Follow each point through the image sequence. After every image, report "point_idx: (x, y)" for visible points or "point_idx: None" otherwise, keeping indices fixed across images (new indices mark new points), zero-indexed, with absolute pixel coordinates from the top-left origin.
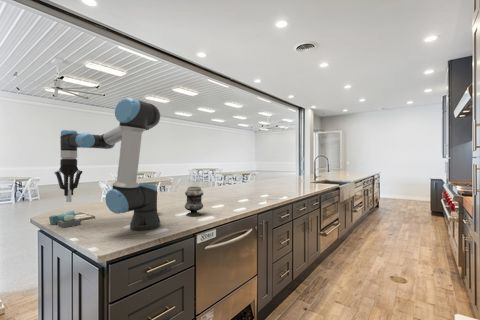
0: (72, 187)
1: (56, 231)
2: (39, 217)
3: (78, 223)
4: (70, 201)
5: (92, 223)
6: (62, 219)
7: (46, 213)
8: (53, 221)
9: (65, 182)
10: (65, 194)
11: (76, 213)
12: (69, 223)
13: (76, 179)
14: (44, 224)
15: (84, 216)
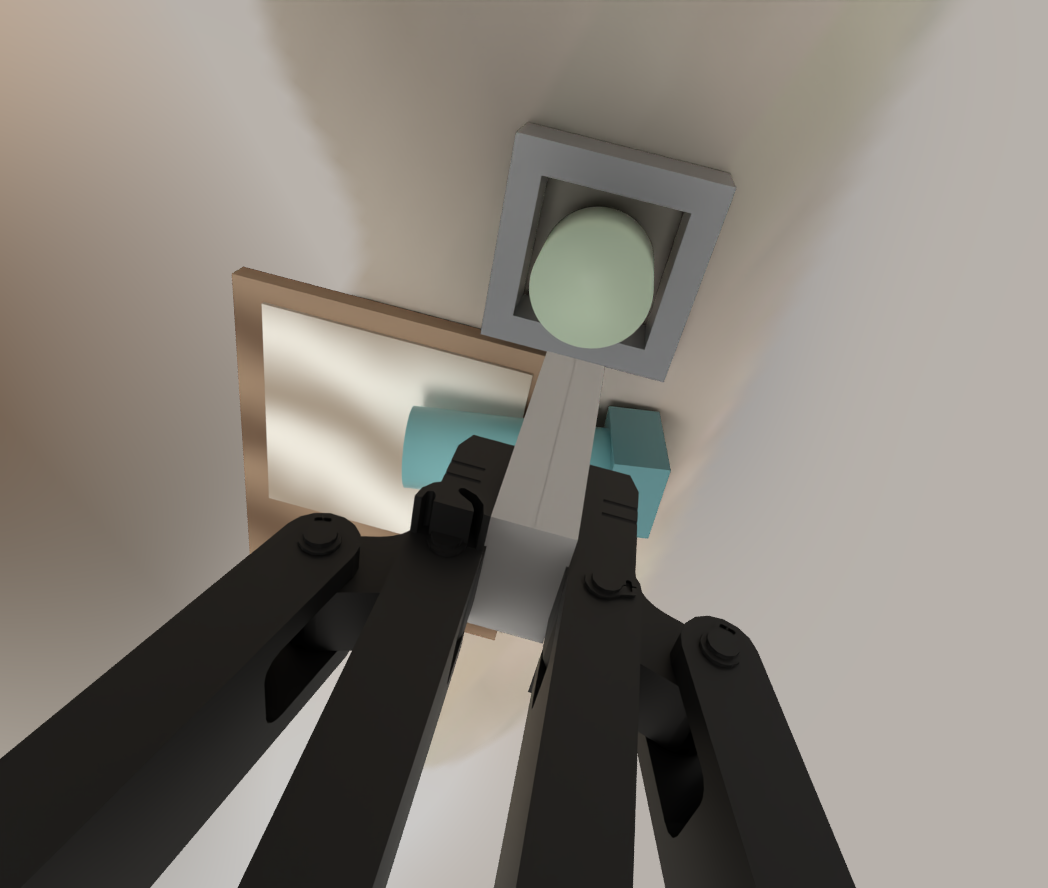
0: (436, 563)
1: (905, 77)
2: (514, 723)
3: (548, 131)
4: (562, 359)
5: (411, 3)
6: None
7: None
8: (663, 433)
9: (624, 840)
10: (632, 502)
11: None
12: (661, 163)
13: (111, 830)
14: (670, 512)
15: (319, 377)
